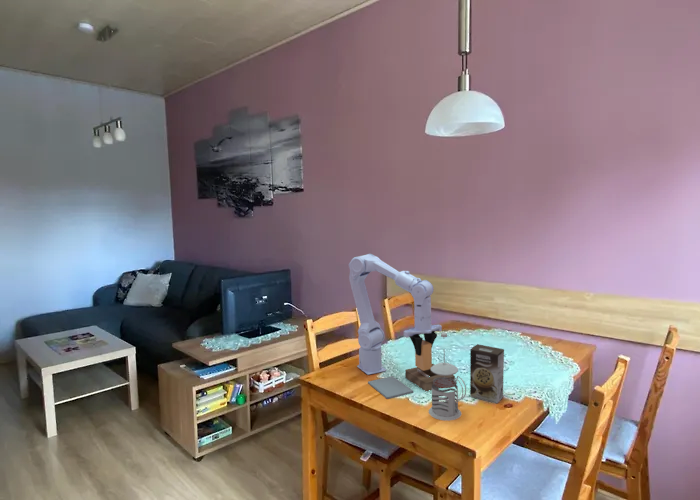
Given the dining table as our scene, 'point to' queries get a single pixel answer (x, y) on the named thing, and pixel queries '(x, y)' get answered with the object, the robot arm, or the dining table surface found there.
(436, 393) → the french press
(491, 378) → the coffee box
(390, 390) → the mat
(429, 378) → the brown wooden tray
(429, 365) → the orange brown block
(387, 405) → the dining table surface
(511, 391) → the dining table surface
